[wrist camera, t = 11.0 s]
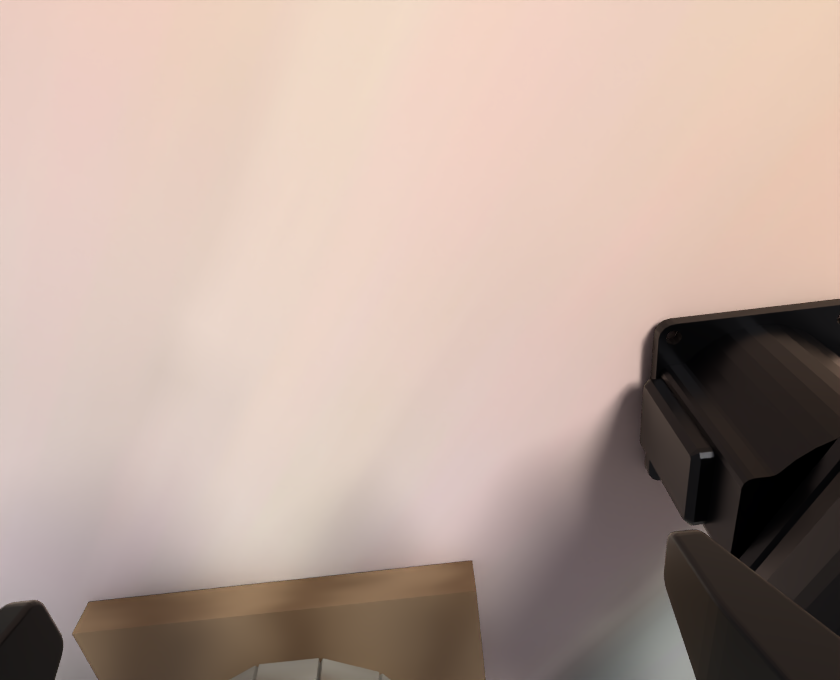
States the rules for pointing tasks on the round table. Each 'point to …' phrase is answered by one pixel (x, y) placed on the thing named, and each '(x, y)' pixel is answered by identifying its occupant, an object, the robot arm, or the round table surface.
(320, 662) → the socket base
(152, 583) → the round table surface
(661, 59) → the round table surface
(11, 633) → the robot arm
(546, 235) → the round table surface
